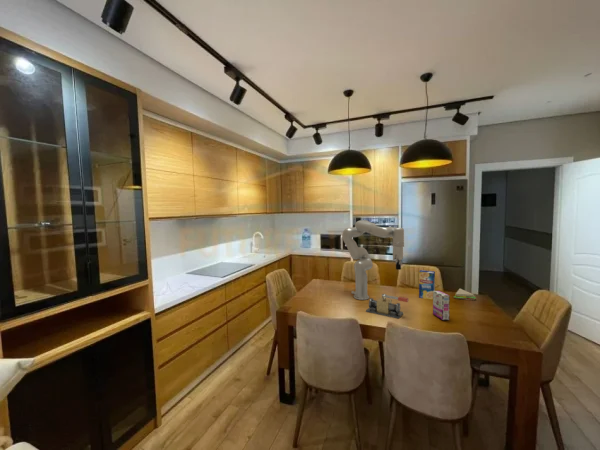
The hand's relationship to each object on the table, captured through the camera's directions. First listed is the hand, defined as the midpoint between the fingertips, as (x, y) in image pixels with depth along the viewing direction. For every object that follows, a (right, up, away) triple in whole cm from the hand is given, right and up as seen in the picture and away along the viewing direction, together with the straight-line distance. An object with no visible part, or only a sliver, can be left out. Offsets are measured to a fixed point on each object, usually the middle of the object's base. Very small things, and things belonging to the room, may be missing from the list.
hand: (398, 269), depth 191 cm
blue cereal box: (+32, -28, +22) cm, 47 cm away
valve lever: (-7, -19, -11) cm, 23 cm away
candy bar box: (+23, -30, -16) cm, 41 cm away
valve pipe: (-12, -30, -6) cm, 33 cm away
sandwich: (+62, -27, +22) cm, 72 cm away
